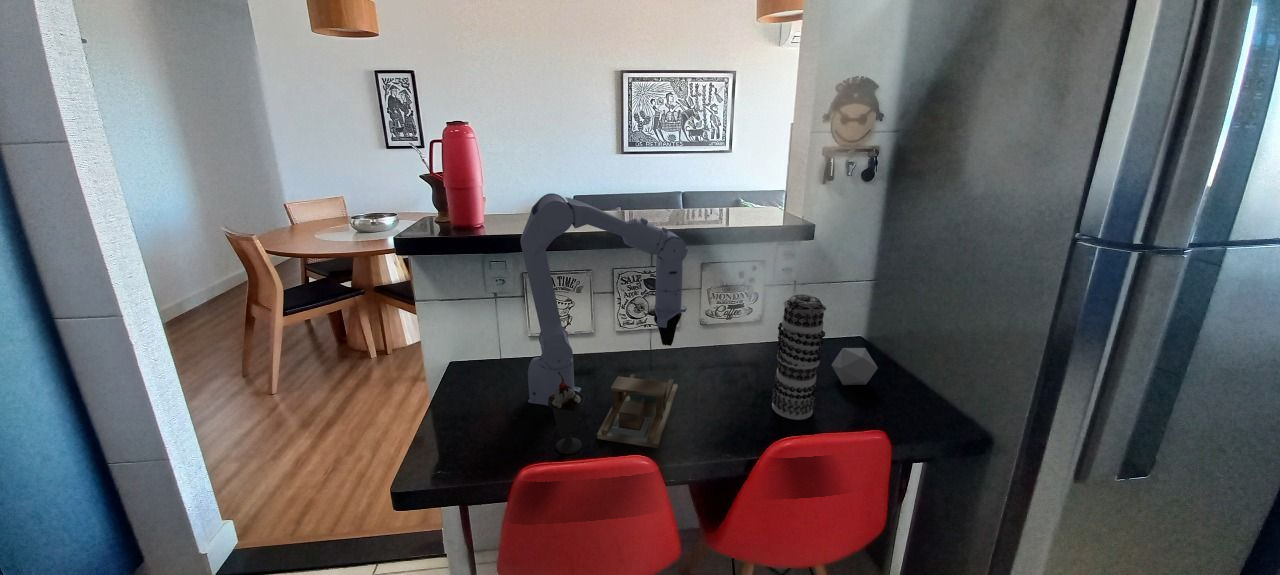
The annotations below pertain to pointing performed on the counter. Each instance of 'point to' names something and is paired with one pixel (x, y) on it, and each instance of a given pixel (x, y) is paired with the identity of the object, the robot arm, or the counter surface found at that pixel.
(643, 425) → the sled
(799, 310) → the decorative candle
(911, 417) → the counter surface
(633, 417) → the walnut block
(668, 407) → the tunnel board
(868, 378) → the die
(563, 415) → the sundae
